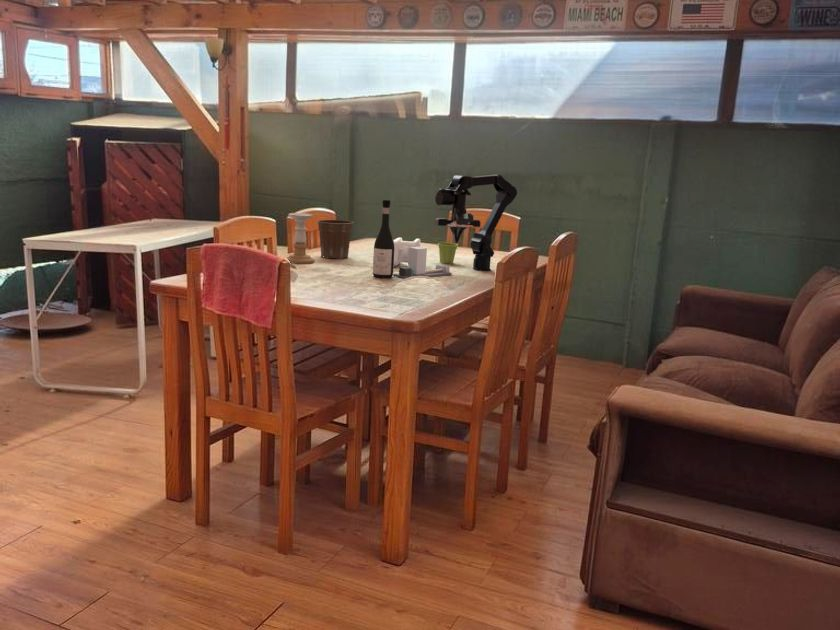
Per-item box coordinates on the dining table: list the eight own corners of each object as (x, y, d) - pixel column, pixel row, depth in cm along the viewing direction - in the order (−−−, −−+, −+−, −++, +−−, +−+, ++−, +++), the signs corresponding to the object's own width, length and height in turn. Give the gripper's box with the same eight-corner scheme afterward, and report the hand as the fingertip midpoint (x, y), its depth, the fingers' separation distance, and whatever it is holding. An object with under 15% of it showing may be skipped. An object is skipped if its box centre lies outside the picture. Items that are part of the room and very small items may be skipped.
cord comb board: (438, 271, 304) (438, 262, 303) (451, 274, 298) (452, 265, 298) (393, 275, 287) (393, 266, 286) (406, 279, 282) (407, 269, 281)
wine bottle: (390, 279, 280) (394, 201, 273) (370, 277, 281) (373, 199, 274) (394, 276, 287) (398, 200, 281) (375, 274, 289) (379, 198, 282)
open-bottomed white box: (416, 271, 294) (418, 246, 291) (425, 273, 290) (426, 248, 288) (407, 272, 290) (409, 247, 288) (416, 274, 287) (417, 249, 284)
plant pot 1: (308, 255, 326) (309, 219, 322) (334, 253, 338) (336, 218, 334) (333, 260, 316) (334, 224, 312) (359, 258, 328) (361, 222, 324)
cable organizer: (414, 269, 307) (416, 242, 304) (390, 267, 308) (391, 240, 305) (419, 264, 321) (421, 238, 319) (396, 262, 323) (397, 236, 320)
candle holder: (290, 258, 315) (291, 212, 311) (317, 260, 314) (319, 214, 309) (281, 262, 303) (282, 214, 299) (309, 264, 302) (310, 216, 297)
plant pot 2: (460, 263, 331) (461, 244, 329) (450, 265, 324) (451, 246, 322) (443, 260, 336) (444, 241, 334) (432, 262, 328) (433, 243, 326)
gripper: (443, 206, 293) (440, 244, 297) (486, 208, 298) (483, 246, 302) (435, 204, 304) (433, 241, 307) (477, 206, 309) (474, 242, 312)
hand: (456, 242), depth 307 cm, fingers closed
